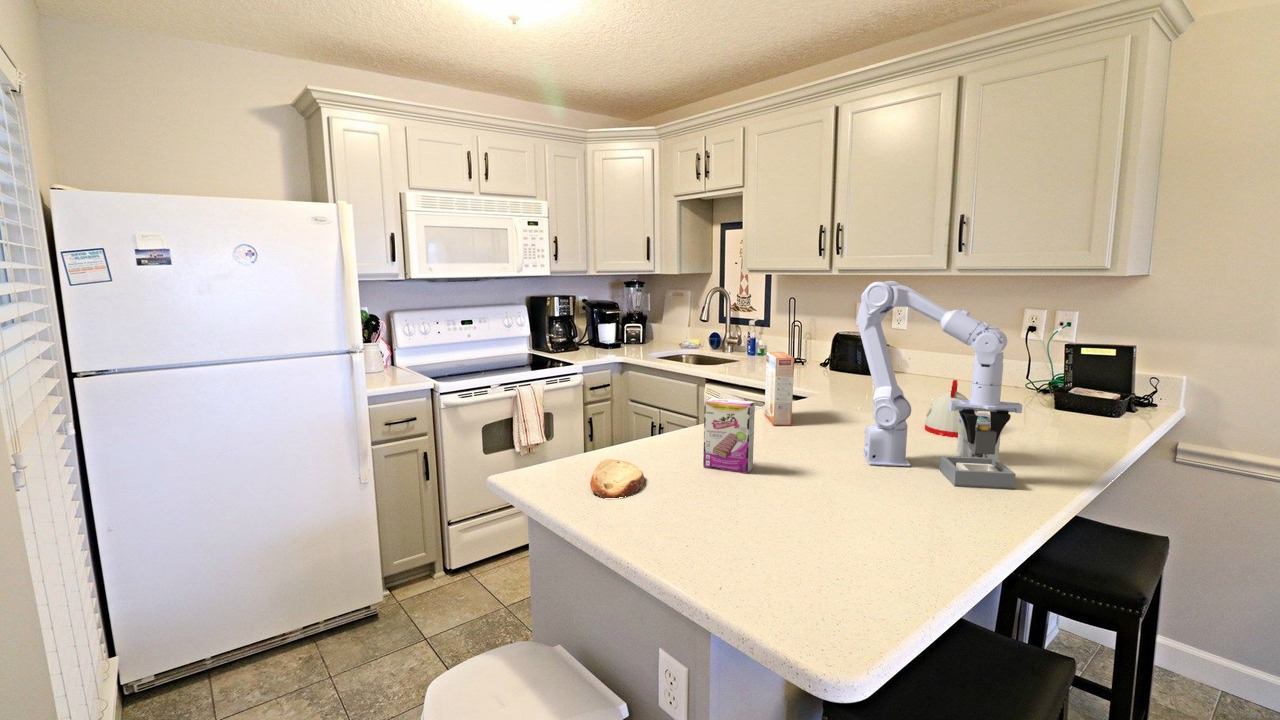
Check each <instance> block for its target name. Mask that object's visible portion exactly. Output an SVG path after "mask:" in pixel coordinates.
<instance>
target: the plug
mask: <svg viewBox="0 0 1280 720" xmlns="http://www.w3.org/2000/svg"><path fill="white" fill-rule="evenodd" d="M996 435H997V432H995V431H994V430H992V429H991V428H990V425H987V424H978V427H975V440H974V444H970V443H969V449H970V450H971V451H973V452H974V453H975V454H995V445H996Z"/></svg>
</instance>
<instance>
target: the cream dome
mask: <svg viewBox="0 0 1280 720" xmlns="http://www.w3.org/2000/svg"><path fill="white" fill-rule="evenodd" d="M951 383H952V385H951V390H950V391H947V392H944V393H943V394H941V395H940V396H939V397H938V398H937V399H936V400H935V401H934V402H933V404H932V403H931V404H930V405H929V407H928V409H927V413H926V418H925V424H924V430H925V431H926V432H928V433H930V434H932V433H933V435H936V436H940V435H941V436H942V437H945V436H947V438H954V437H955V438H957V439H958V430H959V411H957V410H956V411H950V410H949V409H948V404H949V401H963V400H969V399H968V398H967V397H966V396H965V395H964V394H963V393H961V392H960V391H958V384H959V383H958V380H957V379H953V380H952V382H951ZM974 412H978V411H974ZM955 438H954V439H955Z"/></svg>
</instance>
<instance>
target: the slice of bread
mask: <svg viewBox="0 0 1280 720" xmlns="http://www.w3.org/2000/svg"><path fill="white" fill-rule="evenodd" d="M644 476H645V475H644V472H643V471H642V470H641V469H639V468H638V466H637V465H635V464H632V463H630V462H627V461H623V460H619V459H611V458H607V459H606V458H605V459H603V460H602V461H601V462H600V463H599V464H598V465H597V466H596V468H595V469H594V471H593V473H592V475H591V478H590V481H589V484H590V489H591V491H592V492H593V493H594V494H595V495H596V496H598V497H599V496H601V497H604V498H619V497H625V496H627V497H629V496H630V495H632V494H631V493H633V494H635V493H637V492H638V490H639V489H640V488H641V487H643V486H644V482H645V479H644V478H645V477H644ZM643 481H644V482H643ZM642 485H643V486H642ZM641 489H642V488H641ZM641 489H640V490H641ZM640 490H639V491H640ZM634 492H635V493H634ZM629 494H630V495H629ZM601 497H600V498H601ZM604 498H603V499H604ZM625 498H626V497H625Z"/></svg>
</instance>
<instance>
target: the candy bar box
mask: <svg viewBox="0 0 1280 720" xmlns="http://www.w3.org/2000/svg"><path fill="white" fill-rule="evenodd" d="M755 412H756V402H755V401H748V400H737V399H730V398H729V399H726V398H722V397H721V398H719V397H718V398H717V397H710V398H708V399H706V400H705V401H704V414H703V415H704V416H703V419H704V421H703V458H702V459H703V463H702V465H703V466H702V467H703V468H709V469H715V470H723V471H729V472H736V473H741V474H749V473H750V471H752V469H753V468H754V440H755V414H756V413H755ZM748 472H749V473H748Z"/></svg>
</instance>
